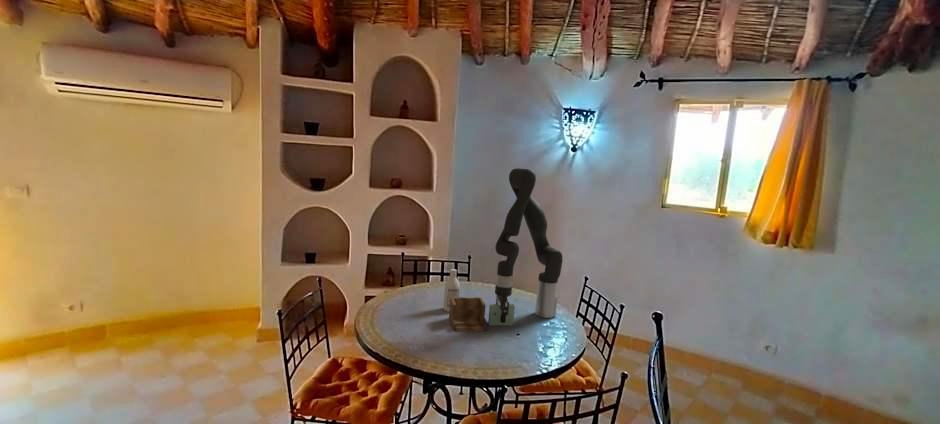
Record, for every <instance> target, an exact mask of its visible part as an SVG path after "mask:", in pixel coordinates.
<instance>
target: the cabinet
mask: <svg viewBox="0 0 940 424" xmlns="http://www.w3.org/2000/svg"><path fill="white" fill-rule="evenodd" d="M486 307H487V306H486V303H485V301H484V299H483V297H470V296H469V297H467V296H466V297H463V296H462V297H460V296H459V297H450V311H449V312H448V313H449V315H448V319H449V322H450V325H451V328H452V331H453V332H477V331H478V332H486V331H487V329H488V328H487V326H488V321H487V319H486V318H485V317H486Z"/></svg>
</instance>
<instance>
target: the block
mask: <svg viewBox="0 0 940 424" xmlns="http://www.w3.org/2000/svg"><path fill="white" fill-rule="evenodd" d="M515 307H516V306H515V305H514V304H510V303H509V309H508V315H506V321H505V323H501V322H500V319H501V310H500V306H499V304H496V303H495V304H493V303H492V304H491V303H490V304H489V309H488V310H489V311H488V321H487V324H488V325H489V326H514V321H515V320H514V318H515V317H514V316H515V311H516V310H515ZM504 312H505V310H504Z"/></svg>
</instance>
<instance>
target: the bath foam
mask: <svg viewBox="0 0 940 424" xmlns="http://www.w3.org/2000/svg"><path fill="white" fill-rule="evenodd" d="M449 271H450V273H449V277H448V279H447V280H446V282H445V285H444V298H443V311H445V312H448V313H449V311H450V297H460V290H461V289H460V288H461V287H460V286H461V285H460V282H459V280H458V278H457V269H455V268H451V269H450V270H449Z"/></svg>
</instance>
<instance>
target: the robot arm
mask: <svg viewBox="0 0 940 424" xmlns="http://www.w3.org/2000/svg"><path fill="white" fill-rule="evenodd" d="M508 181H509V185H510V187H511V189H512V191H513V193H514V195H515V197H516V199H515V201H514V203H513V205H512V206H511V207H510V209H509V210H508V212H507V214H506V218H505V221H504V226H503V229H502V231H501V233H500V236H499V237H498V239H497V241H496V243H495V252H496V253H497V255H500V256H502V257H503V256H504V257H506V259H504V260H499V262H498V264H497V271H496V277H495V286H494V288H495V289H494V294H495V297H496V299H495V304H499V306H500V310H501V319H500V322H501V323H505V321H506V315H508V309H509V304H510V301H509V299H508V297H510V296H512V293H513V292H512V291H513V285H514V284H513V282H514V267H515V263H516V260H517V258H518V256H519V253H520V247H519V245H518V243H517V242H515V241H510V238H511V237H517V236H519V234H520V230H521V226H522V221H523V217H524V221H525V224H526V226H527V229H528V231H529V234H530V236H531V239H532V241H533V245H534V246H533V247H534V249H535V253H536V254H535V255H536V258H537V260H538V262H539V263H540V264H541V265H543V266H545V267H544V271H543V272H540V273H539V274H538V279H537V291H536V299H535V308H534V309H535V310H534V314H535V316H536V317H540V318H542V319H543V318H545V319H551V318H553V317H554V318H555V317H556V315H557V307H558V296H557V292H558V282H559V278H560V276H561V271H562V265H563V254H562V252H561V251H560V250H558V249H556V248H554V247H552V246H551V245H550V243H549V240H548V237H547V229H548V221H547V217H546V214H545V212H544V209H543V208H542V206H541V205H540V204H539V203H538V201H536V199H535V198H534V197H533V195H532V192H533V191H534V188H535V185H536V181H537V176H536V173H535V171H533V169H531V168H530V169H529V168H519V167H518V168H517V167H516V168H513V169H512V170H511V171H510V172H509V175H508ZM504 310H505V312H504Z"/></svg>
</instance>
